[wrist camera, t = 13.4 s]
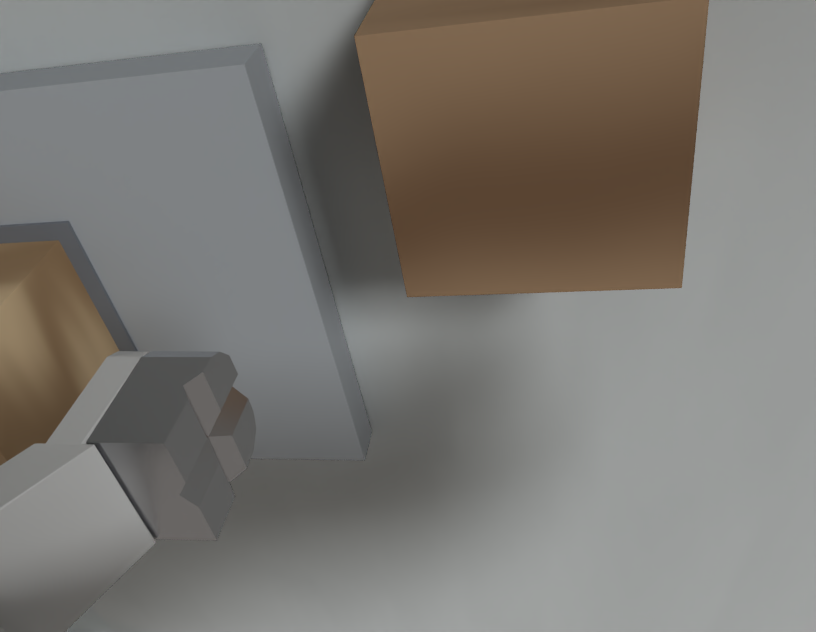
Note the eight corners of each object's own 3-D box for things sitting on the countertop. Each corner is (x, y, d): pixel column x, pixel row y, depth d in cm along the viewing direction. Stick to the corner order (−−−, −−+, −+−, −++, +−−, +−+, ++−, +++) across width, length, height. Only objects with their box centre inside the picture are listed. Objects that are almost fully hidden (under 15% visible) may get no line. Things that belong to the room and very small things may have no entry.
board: (-348, 113, 20) (-395, 135, 19) (261, 43, 16) (242, 66, 15) (-78, 429, 28) (-101, 455, 27) (372, 432, 24) (364, 462, 23)
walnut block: (404, -53, 15) (354, 36, 11) (665, -89, 14) (709, -5, 10) (437, 169, 18) (406, 297, 14) (652, 154, 17) (681, 287, 13)
